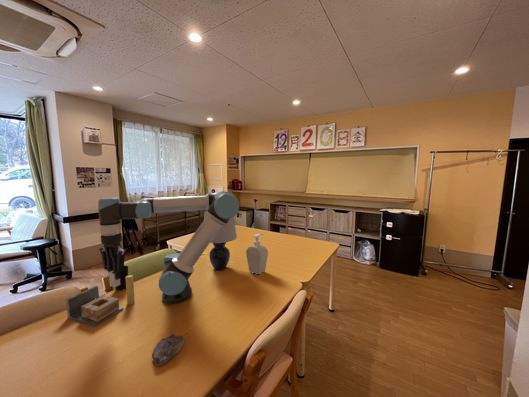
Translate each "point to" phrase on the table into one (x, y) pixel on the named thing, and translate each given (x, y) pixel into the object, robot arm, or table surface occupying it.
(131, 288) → the dowel
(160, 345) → the rock
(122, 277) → the cup
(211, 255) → the lamp
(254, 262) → the soap bottle
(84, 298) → the dark grey angled piece
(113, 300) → the block
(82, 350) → the table surface
